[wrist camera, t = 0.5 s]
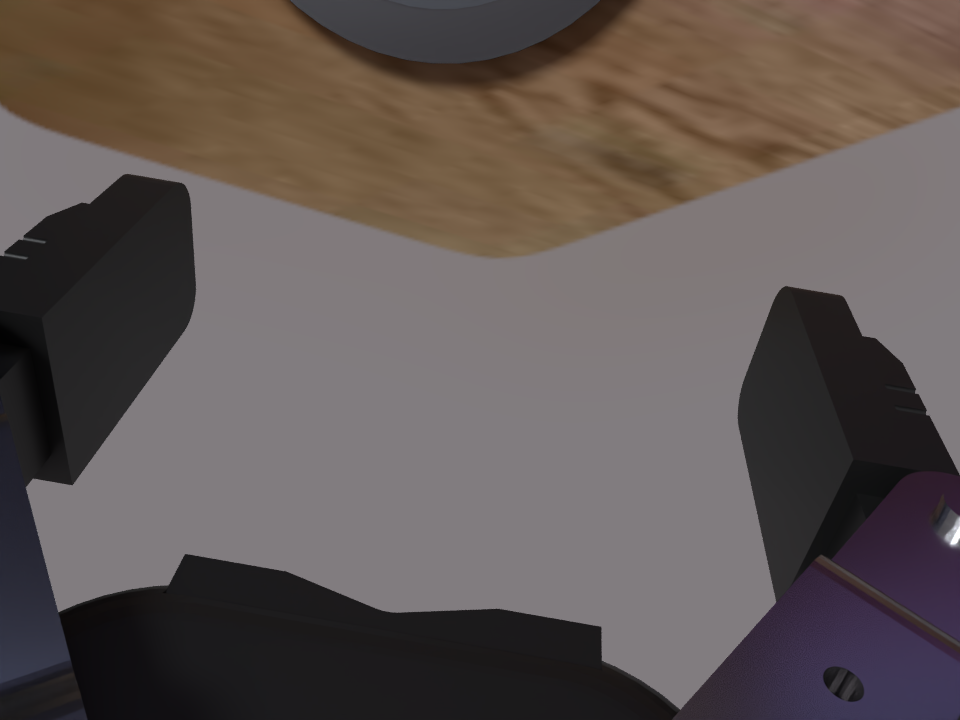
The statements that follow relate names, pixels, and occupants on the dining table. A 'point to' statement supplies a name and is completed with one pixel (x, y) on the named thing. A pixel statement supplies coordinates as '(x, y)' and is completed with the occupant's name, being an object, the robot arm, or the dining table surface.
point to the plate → (445, 25)
